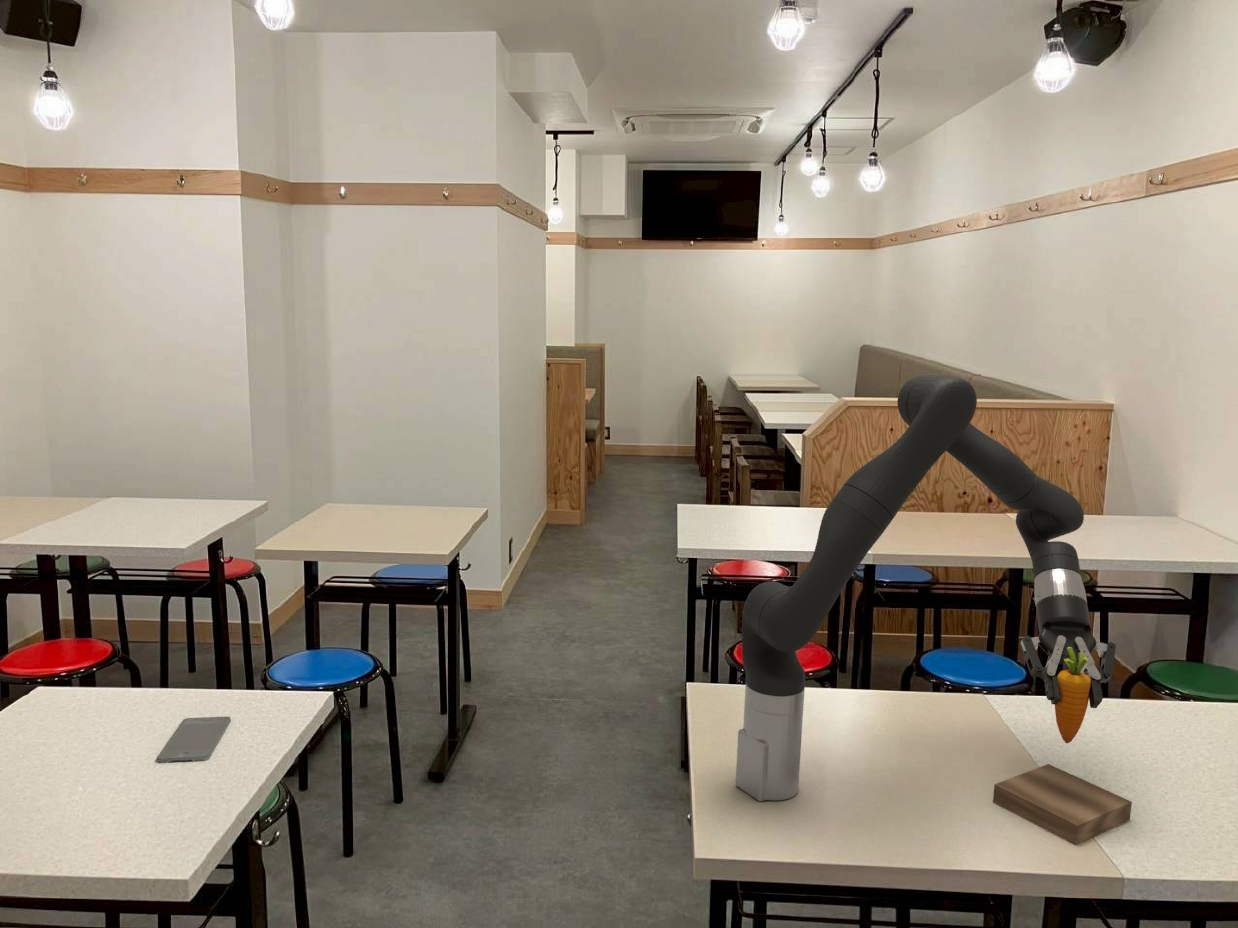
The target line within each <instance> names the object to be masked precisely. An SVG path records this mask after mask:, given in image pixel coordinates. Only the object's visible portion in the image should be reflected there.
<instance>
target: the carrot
mask: <svg viewBox="0 0 1238 928" xmlns="http://www.w3.org/2000/svg"><path fill="white" fill-rule="evenodd" d="M1066 649H1067V652H1068V654H1069V657H1070V659H1071V660H1070V659H1064V661H1065V663H1066V664H1065V665H1066V666H1067V667H1068V669H1063V670H1061V671H1059V673H1058V674H1057V676H1056V677H1057V681H1058V688H1059V696H1060V701H1059V702H1058V704H1057V705H1055V704H1054V713H1055V720H1056V725H1057V729H1058V731H1059V734H1060V736H1061V738H1062V741H1063V742H1064V743H1065V744H1069V743H1071V742H1072V741H1073V740H1074V738H1075V737H1076V736H1077V734H1078V732H1079V730H1080V729H1081V726H1082V724H1083V722H1084V719H1085V715H1086V712H1087V710H1088V706H1089V694H1090V687H1091V679H1090V678H1089V676H1087V675H1085V674H1084V673H1082V672H1081V670H1082V668H1083V666H1084V665H1085V663H1086V662H1087V661H1088V659H1087V658H1086V657H1085V658H1084V655H1083V654H1082V653H1078V666H1077V661H1076V657H1075V654H1074V651H1073V649H1072V647H1068V648H1066Z"/></svg>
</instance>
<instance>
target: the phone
mask: <svg viewBox="0 0 1238 928" xmlns="http://www.w3.org/2000/svg"><path fill="white" fill-rule="evenodd" d="M231 721H232V719H231V717H230V716H228V715H227V716H206V717H205V716H204V717H186V718H184V719H182V720H181V722H180V724H179V725H178V726H177V727H176V729H175V731H174V732H173V734H172V735H171V737H170V738H169V740H167V742H166V743H165V745H164V746H163V748H162V749H161V751H160V752H159V754H157V757H156V762H157V763H158V764H163V763H164V764H165V763H166V764H168V763H169V764H171V763H172V762H173V761H175V762H189V761H192V762H193V763H194V762H206V761H208V760H210V759H211V756H212V755H213V753H214V752H215V749H216V748H217V746H218V745H219V743H220V741H221V739H222V738H223V736H224V734H225V732H226V731H227V729H228V727H229V725H230V723H231Z"/></svg>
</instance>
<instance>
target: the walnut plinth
mask: <svg viewBox="0 0 1238 928" xmlns="http://www.w3.org/2000/svg"><path fill="white" fill-rule="evenodd" d="M992 803H993V804H995V805H996V804H997V805H998V806H1000V807H1002V808H1004V809H1006V810H1007V811H1009V812H1011V813H1014V814H1015V815H1017V816H1018V817H1021V818H1023V819H1025V820H1027V821H1028V822H1030V823H1032V824H1034V825H1037V826H1039V827H1040V828H1042V829H1044V830H1047V832H1049V833H1052V834H1054V835H1056V836H1057V837H1060V838H1062V839H1064V840H1066V841H1067V842H1069V843H1071V844H1073V845H1075V846H1077V845H1079V844H1081V843H1082V842H1085V841H1087V840H1090V839H1092V838H1094V837H1096V836H1098V835H1100V834H1102V833H1104V832H1106V831H1109V830H1111V829H1113V828H1116V827H1118V826H1120V825H1123V824H1125V823H1126V822H1128V821H1130V819H1131V812H1132V804H1133V801H1132V800H1129V799H1127V798H1125V797H1123V796H1120V795H1118V794H1115V793H1113V792H1112V791H1109V790H1107V789H1105V788H1102V787H1100V786H1098V785H1096V784H1094V783H1091V782H1089V781H1087V780H1085V779H1083V778H1080V777H1078V776H1076V775H1074V774H1071V773H1069V772H1068V771H1065V770H1063V769H1061V768H1058V767H1056V766H1054V765H1052V764H1049V763H1047V764H1045V765H1042V766H1039V767H1037V768H1034V769H1031V770H1028V771H1027V772H1023V773H1021V774H1018V775H1016V776H1012V777H1011V778H1007V779H1004V780H1002V781H1000V782H996V783H994V787H993V797H992Z"/></svg>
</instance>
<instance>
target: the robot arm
mask: <svg viewBox="0 0 1238 928" xmlns="http://www.w3.org/2000/svg"><path fill="white" fill-rule="evenodd" d="M975 390H976V389H975V388H974V386H973V385H972V384H971V383H970V382H969V381H967V380H965V379H962V378H959V377H956V376H955V377H954V376H949V375H948V376H947V375H931V374H930V375H928V374H927V375H926V374H925V375H918V376H914V377H912V378H910V379H909V380H908V381H906V382H905V383H904V384H903V385H902V387H901V388H900V390H899V393H898V395H897V410H898V413H899V416H900V417H901V418H902V420H903V422H904V423H906V425H908V427H907V428H906V430H905V431H904V433H902V435H901V436H900V437H899V438H898V439H897V440H896V442H894V443H893V444H892V445H891V446H889V447H888V448H887V449H885V450H884V451H882V452H881V453H880V454H879V455H877V456H876V457H874V458H872V459H871V460H869V461H868V462H866V463H865V464H864V465H862V466H861V467H860V468H858V469H857V470H856V471H855V472H854V473H853V474H852V475H851V476H849V477H848V478H847V480H846V481H845V482H844V483H843V485H842V487H841V488H840V489H839V490H838V492H837V493H836V494H835V496H834V497H833V499H831V501H830V502H829V504H828V506H827V508H825V511H824V513H823V515H822V518H821V521H820V525H819V530H818V534H817V539H816V544H815V547H814V551H813V554H812V556H811V559H810V561H809V562H808V564H807V565H806V567H805V569H804V570H803V571H802V573H800V575H799V577H798V578H797V579H796V581H795V582H794V583H793V584H792V586H791V587H789V586H788V585H785V584H783V583H781V582H778V581H770V580H769V581H765V582H762V583H760V584H758V585H756V586H755V587H754V588H753V589H752V590H750V592H749V594H748V595H747V598H746V600H745V603H744V605H743V609H742V610H743V611H742V620H741V659H742V660H741V661H742V666H743V669H744V672H745V689H744V690H745V692H744V703H743V704H744V706H743V727H742V728H740V729H738V731H737V748H736V750H737V751H736V765H735V766H736V767H735V769H736V771H735V786H736V787H738V788H739V789H740V790H742V791H744V792H745V793H747V794H748V795H749V796H751V797H752V798H754V799H755V800H757V801H758V802H763V801H783V800H789V799H791V798H793V797H795V796H796V795H797V794H798V793H799V786H800V785H799V784H800V772H801V770H800V768H801V752H802V751H801V750H802V735H803V733H802V732H803V717H804V703H805V690H806V689H805V686H806V672H805V669H804V667H803V666H802V664H801V662H800V660H799V658H798V655H797V651H799V650H801V649H803V648H804V647H805V646H807V645H808V644H809V643H810V642H811V641H812V640H813V638H814V637H815V635H816V634H817V633H818V631H819V630H820V628H821V626H822V625H823V623H824V622H825V619H826V618H827V617H828V615H829V613H830V611H831V610H832V608H833V606H834V604H835V602H836V601H837V599H838V597H839V596H840V594H841V593H842V590H843V589H844V587H845V586H846V584H847V583H848V581H850V579H851V577H852V576H853V575H854V573H855V572H856V570H857V568H858V567H859V566H860V564H861V563H862V562H863V560H864V559H865V557H866V556H867V554H868V553H869V551H870V550H871V549H872V548H873V546H874V545H875V544H876V542H878V540H879V538H881V536H882V535H883V534H884V532H885V530H886V529H887V528H888V527H889V526H890V524H891V522H892V521H893V520H894V519H895V517H896V515H897V514H898V513H899V511H900V510H901V508H902V507H903V505H904V504H905V502H906V501H907V499H909V497H910V496H911V495H912V493H913V492H914V491H915V489H916V488H917V487H918V485H919V484H920V483H921V481H922V480H923V478H924V477H925V476H926V475H927V473H928V472H929V471H930V470H931V468H932V467H933V466H934V465H935V464H936V462H937V461H938V460H939V459H940V458H941V457H942V456H943V454H944V453H945V452H947V453H948V454H949V455H950V456H952V457H953V458H954V459H955V460H957V461H958V462H959V463H961V464H962V466H964V467H965V468H966V469H967V470H969V472H971V473H972V474H973V475H974V476H975V477H976V478H977V479H978V480H979V481H981V483H982V484H984V486H985V487H986V488H988V490H989V491H990V492H992V494H993V495H995V496H996V498H997V499H999V500H1000V501H1001V502H1002V503H1003V504H1004V505H1005V506H1006V507H1007V508H1009V509H1011V510H1015V511H1017V513H1016V517H1015V524H1016V529H1017V530H1018V533H1019V534H1020V536H1021V539H1022V540H1023V542H1024V544H1025V547H1026V549H1027V551H1028V555H1029V556H1030V559H1031V564H1032V571H1033V572H1032V573H1033V579H1034V589H1033V590H1034V591H1033V593H1034V604H1035V608H1036V617H1037V618H1036V619H1037V625H1038V631H1039V632H1038V636H1034V637H1031V636H1029V635H1026V634H1025V635H1024V636H1023V637H1022V640H1021V641H1020V643H1019V647H1020V650H1021V652H1022V655H1023V657H1024V660H1025V663H1026V665H1027V668H1028V671H1029V673H1030V676H1032V677H1033V678H1037V677H1038V678H1041V680H1043V682H1044V689H1045V697H1046V699H1047V701H1050V703H1051V705H1054V706H1055V705H1057V704H1058V702H1059V701H1060V696H1059V688H1058V681H1057V676H1056V672H1057V669H1058V666H1059V665H1067V664H1066V663H1065V661H1064V659H1070V657H1069V654H1068V652H1067V649H1066V648H1068V647H1072V649H1073V651H1074V654H1075V657H1076V661H1077V666H1078V653H1082V654H1083V655H1084V658H1085V657H1086V658H1087V659H1088V661H1087V662H1086V663H1085V665H1084V666H1083V668H1082V670H1081V672H1082V673H1084V674H1085V675H1087V676H1089V678H1090V679H1091V687H1090V694H1089V700H1088V703H1089V707H1090V708H1091V709H1097V708H1098V707H1099V706H1100V704H1101V703H1102V702H1103V699H1104V698H1103V691H1102V685H1101V684H1102V683H1103V684H1106V683H1108V682H1109V680H1110V679H1111V678H1112V677H1113V674H1114V667H1115V658H1116V647H1117V646H1116V644H1115V643H1114V642H1111V641H1109V642H1107V643H1104V642H1100V641H1098V640H1097V639H1096V637H1094V635H1093V631H1092V626H1091V621H1090V619H1091V618H1090V613H1089V607H1088V600H1087V596H1086V594H1087V593H1086V589H1085V586H1084V582H1083V579H1082V574H1081V567H1080V562H1079V561H1080V560H1079V556H1078V552H1077V549H1076V548H1075V547H1074V545H1072V544H1070V543H1068V542H1065V541H1058V540H1057V541H1055V540H1053V539H1057V538H1060V537H1062V536H1066V535H1067V534H1071V533H1073V532H1075V531H1078V530H1079V529H1080V528H1081V527H1082V525H1083V523H1084V520H1085V519H1084V518H1085V515H1084V510H1083V507H1082V505H1081V503H1080V502H1079V501H1078V499H1077V498H1076V497H1074V495H1072V494H1071V493H1070V492H1068V491H1067V490H1065V489H1063V488H1062V487H1059V486H1058V485H1056V484H1054V483H1052V482H1050V481H1048V480H1046V479H1044V478H1042V477H1040V476H1039V475H1037V473H1035V472H1034V471H1033V470H1032V469H1031V467H1029V466H1028V465H1027V464H1026V463H1025V462H1024V460H1022V459H1021V458H1020V457H1019V456H1018V455H1017V454H1016V453H1014V452H1013V451H1012V450H1011V449H1009V448H1008V447H1007V446H1004V445H1003V444H1002V443H1000V442H999V441H997V440H995V439H993V438H992V437H990V436H989V435H987V434H985V432H983V431H982V430H980V429H978V428H977V427H976V426H975V425H973V424H972V423H971V421H972V420H973V418H974V416H975V413H976V410H977V406H978V405H977V404H978V403H977V401H978V399H977V398H978V397H977V393H976V391H975ZM1051 540H1053V541H1051ZM1038 647H1040V648H1041V649H1042V650H1043V652H1045V653H1046V655H1047V657H1048V658H1047V662H1046V665H1045V666H1043V665H1042V663H1041V660H1040V659H1041V658H1039V655H1038V652H1037V650H1038ZM1093 650H1095V651H1096V652H1097V654H1098V657H1099V658H1101V662H1100V670H1098V668H1097V666H1096V662H1095V660H1094V658H1093V657H1092V655H1091V653H1092V652H1093ZM1070 660H1071V659H1070Z"/></svg>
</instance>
